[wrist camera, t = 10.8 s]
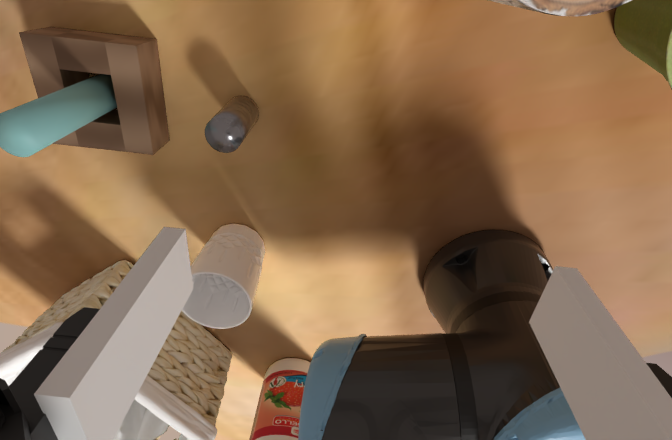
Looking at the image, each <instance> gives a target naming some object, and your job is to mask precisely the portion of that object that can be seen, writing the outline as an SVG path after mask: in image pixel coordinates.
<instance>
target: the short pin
mask: <svg viewBox="0 0 672 440" xmlns="http://www.w3.org/2000/svg"><path fill="white" fill-rule="evenodd" d="M258 117H259V110H258V107H257V105H256V103H255V102H254V101H253V100H252V99H250V98H249V97H246V96H236V97H234V98H233V99H231V100H230V101H229V102H228V103H227V104H226V105H225V106H224V107H223V108H222V109H221V110H220V111H219V112H218V113H217V114H216V115H215V116H214V117H213V118H212V119H211V120H210V121H209V122H208V124H207V125H206V128H205V137H206V140H207V142H208V143H209V144H210V146H211V147H212V148H214V149H215V150H217V151H219V152H223V153H229V152H233V151H235V150H236V149H237V148H238V147H239V146H240V144H241V143H242V141H243V140H244V139H245V137H246V136H247V134H248V133H249V131H250V130H251V128H252V127H253V126H254V124H255V123H256V121H257V120H258Z"/></svg>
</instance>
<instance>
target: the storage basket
mask: <svg viewBox="0 0 672 440" xmlns="http://www.w3.org/2000/svg"><path fill="white" fill-rule="evenodd" d="M133 266H134V265H133V264H132V263H131V262H129V261H127V260H122V261H118V262H116V263H115V264H114V265H113V266H110V267H108V268H106V269H105V270H103V271H102V272H99V273H98V274H96V275H95V276H93V278H92V279H91V278H90V279H87V280H86V281H84V282H83V283H81V284H80V286H77V287H75V288H73V289H72V290H71V291H70V292H67V293H65V294H64V295H63V296H62V297H61V298H60V299H58V300H57V301H56V302H55V303H54V304H53V305H52V306H51V307H50V308H49V309H47V310H46V311H45V312H44V313H43V314H42V315H41V316H39V317H38V318H37V319H36V321H35V322H34V323H33V324H32V325H31V326H29V327H28V328H27V329H26V330H25V331H24V333H23V334H22V336H19V337H18V338H17V339H16V341H15V343H13V344H12V345H11V346H9V347H8V348H6V349H5V350H4V351H3V352H2V353H0V378H1V379H3V380H5V381H6V383H7V385H8V386H10V384H11V383H12V382H13V381H14V380H15V379H16V377H17V376H18V375H19V374H20V373H21V372H22V370H23V369H24V368H25V367H26V366H27V365H28V363H29V362H30V361H31V360H32V359H33V358H34V356H35V355H36V354H37V353H38V352H39V350H42V349H43V346H44V345H45V343H46V342H47V341H48V340H49V339H50V338H51V337H53V334H54V333H55V332H56V331H57V329H58V328H59V327H60V326H61V325H62V323H63V322H64V321H65V320H66V319H67V318H69V317H70V316H72V315H73V314H75V313H76V312H78V311H79V310H81V309H82V308H84V307H87V308H97V309H101V307H102V306H103V305H104V303H105V302H106V301H107V300H108V298H109V297H110V296H111V294H112V293H113V292H114V291H115V289H116V288H117V287H118V285H119V284H120V283H121V282H122V280H123V279H124V278H125V276H126V275H127V274H128V273H129V271H130V270H131V269H132V267H133ZM231 358H232V354H231V352H230V351H229V350H228V349H227V348H226V347H225V346H224V345H223V344H222V343H221V342H220V341H218V340H217V339H216V338H215V337H214V336H212V334H211V333H210V332H208V331H207V330H206V329H205V328H203V327H202V326H201V324H199V323H197V322H195V321H193V320H192V319H190V318H189V317H188V316H186V315H185V314H184V313H183V311H181V312H180V314H179V316H178V318H177V320H176V322H175V324H174V326H173V327H172V329H171V331H170V333H169V335H168V337H167V339H166V341H165V343H164V344H163V346H162V348H161V350H160V352H159V354H158V356H157V358H156V359H155V361H154V363H153V365H152V367H151V369H150V371H149V373H148V374H147V376H146V378H145V380H144V382H143V384H142V386H141V388H140V389H139V391H138V393H137V395H136V397H135V399H134V401H133V403H132V405H131V406H130V408H129V410H128V412H127V414H126V416H125V418H124V420H123V421H122V423H121V425H120V427H119V429H118V431H117V433H116V435H115V436H114V438H113V440H158V439H159V438H160V437H161V435H162V434H164V433H165V432H166V431H167V429H168V427H169V426H171V427H172V428H174V429H175V430H177V431H178V432H179V433H181V435H180V437H179V439H178V440H214V439H215V437H216V434H217V429H216V427H215V423H216V418H217V415H218V411H219V408H220V404H221V401H220V400H221V399H222V398H223V395H224V385H225V383H226V381H227V372H228V371H229V367H230V362H231ZM174 440H176V439H174Z"/></svg>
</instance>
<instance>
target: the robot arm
mask: <svg viewBox="0 0 672 440" xmlns="http://www.w3.org/2000/svg"><path fill="white" fill-rule="evenodd" d="M423 286H424V292H425V297H426V302H427V305H428V307H429V310H430V312H431V313H432V315H433V316H434V317H435V318H436V320H437V321H438V323H439V324H440V326H441V327H442V328H443V330H444V331H445V333H446V334H441V333H438V334H416V335H394V336H369V337H367V336H366V334H361V335H359V336H358V337H348V338H337V339H330V340H327V341H325V342H324V343H322V344H321V345H320V346H319V348H318V349H317V350H316V352H315V354H314V355H313V358H312V360H311V363H310V366H309V369H308V373H307V377H306V381H305V386H304V391H303V397H302V403H301V410H300V420H299V433H298V440H672V377H671V376H670V375H669V374H667V373H666V372H665V371H664V370H663V369H662V368H660V367H659V366H658V365H657V364H652V363H645V361H644V360H643V358H642V357H641V356H640V354H639V353H638V351H637V350H636V349H635V347H634V346H633V345H632V343H631V342H630V341H629V339H628V338H627V336H626V335H625V334H624V332H623V331H622V330H621V328H620V327H619V325H618V324H617V323H616V321H615V320H614V319H613V317H612V316H611V315H610V313H609V312H608V310H607V309H606V308H605V306H604V305H603V304H602V302H601V301H600V299H599V298H598V297H597V295H596V294H595V293H594V291H593V290H592V289H591V287H590V286H589V284H588V283H587V282H586V280H585V279H584V278H583V276H582V275H581V273H580V272H579V271H578V269H577V268H567V267H557V266H555V268H554V270H553V269H552V266H551V264H550V262H549V261H548V259H547V257H546V256H545V254H544V253H543V251H542V250H541V249H540V247H539V246H538V245H537V244H536V243H534V242H533V241H532V240H530V239H529V238H527V237H525V236H523V235H521V234H518V233H514V232H510V231H504V230H485V231H479V232H474V233H471V234H467V235H465V236H462V237H460V238H458V239H456V240H454V241H452V242H450V243H449V244H447V245H446V246H445V247H443V248H442V249H441V250H440V251H439V252H438V253H437V254H436V255H435V256H434V257H433V258H432V260H431V261H430V263H429V265H428V266H427V269H426V271H425V275H424V280H423ZM192 290H193V281H192V274H191V266H190V259H189V251H188V244H187V236H186V229H180V228H170V227H163V229H162V230H161V231H160V233H159V234H158V235H157V236H156V238H155V239H154V240H153V242H152V243H151V244H150V245H149V247H148V248H147V249H146V251H145V252H144V253H143V254H142V256H141V257H140V258H139V260H138V261H137V262H136V263H135V265H134V266H133V267H132V269H131V270H130V271H129V273H128V274H127V275H126V276H125V278H124V279H123V280H122V282H121V283H120V284H119V285H118V287H117V288H116V289H115V291H114V292H113V293H112V294H111V296H110V297H109V298H108V300H107V301H106V302H105V303H104V305H103V306H102V307H101V309H97V308H87V307H84V308H82V309H81V310H79V311H78V312H76V313H75V314H73V315H72V316H70V317H69V318H67V319H66V320H65V321H64V322H63V323H62V325H61V326H60V327H59V328H58V329H57V331H56V332H55V333H54V334H53V337H51V338H50V339H49V340H48V341H47V342H46V343H45V345H44V346H43V349H42V350H39V352H38V353H37V354H36V355H35V356H34V358H33V359H32V360H31V361H30V362H29V363H28V365H27V366H26V367H25V368H24V369H23V370H22V372H21V373H20V374H19V375H18V376H17V377H16V379H15V380H14V381H13V382H12V383H11V384H10V386H8V385H7V383H6V381H5V380H3V379H1V378H0V440H113V438H114V436H115V435H116V433H117V431H118V429H119V427H120V425H121V423H122V421H123V420H124V418H125V416H126V414H127V412H128V410H129V408H130V406H131V405H132V403H133V401H134V399H135V397H136V395H137V393H138V391H139V389H140V388H141V386H142V384H143V382H144V380H145V378H146V376H147V374H148V373H149V371H150V369H151V367H152V365H153V363H154V361H155V359H156V358H157V356H158V354H159V352H160V350H161V348H162V346H163V344H164V343H165V341H166V339H167V337H168V335H169V333H170V331H171V329H172V327H173V326H174V324H175V322H176V320H177V318H178V316H179V314H180V312H181V311H182V309H183V307H184V305H185V303H186V301H187V299H188V297H189V296H190V294H191V292H192Z"/></svg>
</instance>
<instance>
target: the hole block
mask: <svg viewBox="0 0 672 440" xmlns="http://www.w3.org/2000/svg"><path fill="white" fill-rule="evenodd" d="M19 34H20V37H21V41H22V44H23V47H24V51H25V54H26V58H27V61H28V64H29V68H30V71H31V75H32V78H33V82H34V85H35V88H36V92H37V95H38V98H41V97H43V96H46V95H48V94H51V93H53V92H56V91H58V90H61V89H63V88H66V87H68V86H71V85H74V84H76V83H79V82H81V81H84V80H86V79H89V74H88V72H89V73H98V74H107V75H111V77H112V83H113V88H114V93H115V98H116V103H117V109H118V110H111V111H110V112H108V113H106V114H104V115H102V116H101V117H99V118H97V119H95V120H93V121H92V122H90V123H88V124H86V125H85V126H83V127H81V128H79V129H77V130H76V131H74V132H72V133H70V134H68V135H67V136H65V137H63V138H61V139H60V140H58V141H56V142H54V143H52V144H61V145H70V146H79V147H88V148H97V149H106V150H115V151H124V152H133V153H142V154H151V155H153V154H155V153H156V152H157V151H158V150H159V149H160V148H161V147H163V146H164V145H165V144H166V143H167V142H168V141H169V132H168V124H167V116H166V108H165V101H164V93H163V85H162V77H161V70H160V62H159V54H158V46H157V39H152V38H143V37H134V36H125V35H117V34H108V33H99V32H90V31H81V30H73V29H64V28H55V27H47V28H41V29H36V30H30V31H25V32H19Z"/></svg>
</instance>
